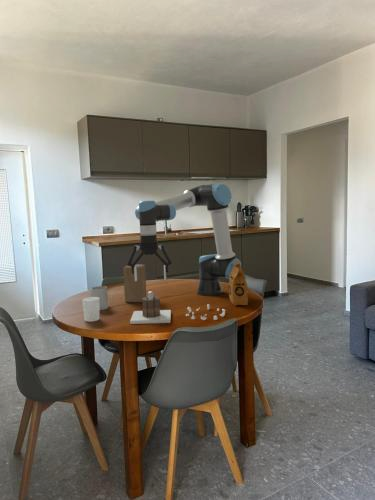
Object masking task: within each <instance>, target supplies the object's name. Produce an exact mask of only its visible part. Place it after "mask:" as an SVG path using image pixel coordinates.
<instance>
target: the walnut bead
mask: <svg viewBox="0 0 375 500" xmlns="http://www.w3.org/2000/svg"><path fill="white" fill-rule="evenodd" d="M160 301H161V300H160V296H157V295H156V296H154V295H153V299H150V300H148V296H146V297H144V298H142V302H141V306H142V308H141V309H142V310H141V311H143V317H148V318H150V317H157V316H160V310H161V304H160V303H161V302H160Z"/></svg>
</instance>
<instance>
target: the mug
mask: <svg viewBox="0 0 375 500" xmlns="http://www.w3.org/2000/svg"><path fill="white" fill-rule="evenodd" d="M90 297H98V298H100V311H104V310H107V309H109V299H108V298H109V297H108V287H107V286H101V285H100V286H99V285H98V286H93V287H91V288H90Z"/></svg>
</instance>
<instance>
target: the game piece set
mask: <svg viewBox="0 0 375 500" xmlns="http://www.w3.org/2000/svg"><path fill="white" fill-rule="evenodd" d="M206 307H207V310H208V311H209V310H210V304H209V303H207V305H206ZM200 308H201V307H198V308H196V311H199V310H200ZM221 310H222V313H220V314H219V316H220V317H222V318H224V316H225V314H226V309H224V308H222V309H221ZM187 311H188V313H186V314H185V317H189V316H190V313H191V314H192V315H191V317H190V319H191V320H196V316H195V315H194V314H195V312H194V311H192V307H190V306H187ZM216 311H217V312H220V308H219V307H218V308H217V309H216ZM206 316H207V313H205V314H204V316H202V315H200V320H202V321H206V319H207V317H206ZM216 320H217V321H218V315H213V321H216Z"/></svg>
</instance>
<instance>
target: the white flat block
mask: <svg viewBox="0 0 375 500" xmlns="http://www.w3.org/2000/svg"><path fill="white" fill-rule="evenodd" d="M171 312H172V311H171V309H160V316H157V317H150V318H148V317H143V310H133V312H132V316H131V317H130V320H129V321H130V322H129V323H130V325H137V324H138V325H139V324H144V325H145V324H166V323H168V324H170V323H172V322H171V319H172V318H171V315H172V313H171Z"/></svg>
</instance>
